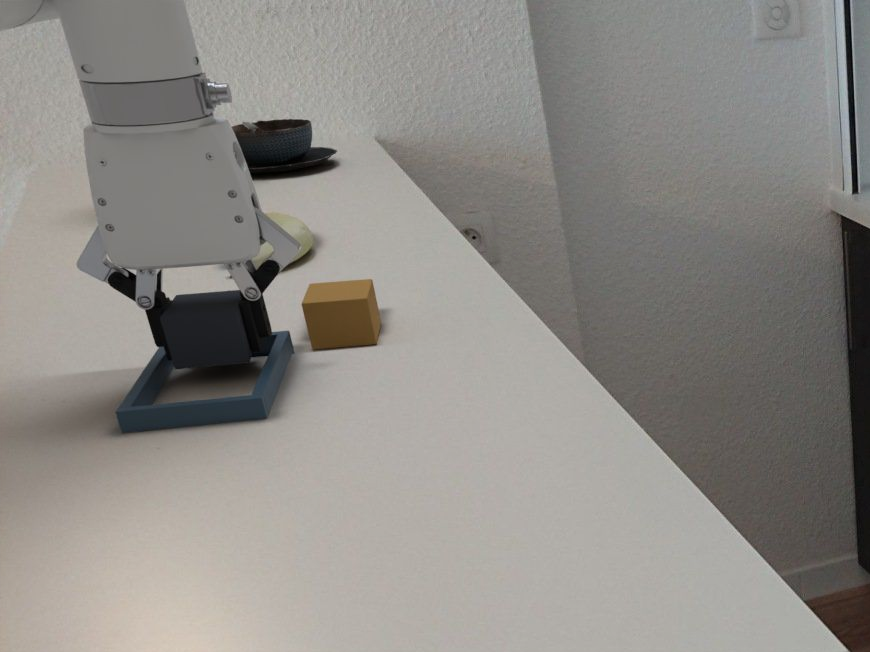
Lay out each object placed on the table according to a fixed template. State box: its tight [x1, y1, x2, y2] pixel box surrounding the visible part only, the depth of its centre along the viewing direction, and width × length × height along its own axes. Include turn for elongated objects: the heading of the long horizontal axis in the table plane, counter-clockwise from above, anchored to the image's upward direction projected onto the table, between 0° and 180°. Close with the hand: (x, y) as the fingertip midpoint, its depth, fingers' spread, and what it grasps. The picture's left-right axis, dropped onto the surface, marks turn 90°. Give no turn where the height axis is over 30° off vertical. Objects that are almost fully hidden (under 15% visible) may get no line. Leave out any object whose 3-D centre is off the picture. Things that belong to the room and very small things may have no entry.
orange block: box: [301, 278, 382, 351], centre depth 109 cm, size 6×5×4 cm
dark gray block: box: [160, 289, 253, 370], centre depth 97 cm, size 6×5×4 cm
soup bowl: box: [231, 118, 338, 174], centre depth 168 cm, size 15×16×7 cm
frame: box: [114, 330, 295, 434], centre depth 96 cm, size 16×9×2 cm, turn 18°
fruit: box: [227, 211, 314, 273], centre depth 131 cm, size 7×15×3 cm, turn 18°
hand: (217, 348), depth 98 cm, fingers closed on dark gray block, 5 cm apart
